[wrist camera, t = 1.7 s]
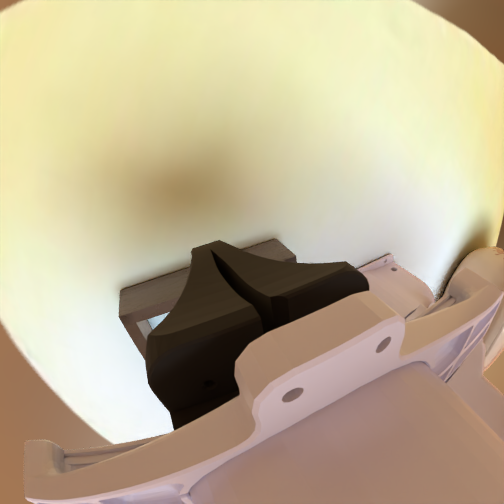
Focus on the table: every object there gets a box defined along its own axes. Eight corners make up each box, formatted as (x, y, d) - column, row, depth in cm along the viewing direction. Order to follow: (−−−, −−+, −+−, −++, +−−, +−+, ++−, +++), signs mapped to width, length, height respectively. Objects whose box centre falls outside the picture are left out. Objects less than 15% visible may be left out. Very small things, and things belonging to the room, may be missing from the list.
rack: (276, 238, 24) (296, 255, 21) (291, 372, 34) (303, 391, 31) (120, 290, 20) (118, 316, 18) (192, 410, 30) (198, 431, 27)
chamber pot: (436, 250, 37) (534, 316, 19) (492, 211, 43) (560, 249, 26) (406, 358, 50) (464, 415, 33) (467, 305, 57) (517, 343, 40)
